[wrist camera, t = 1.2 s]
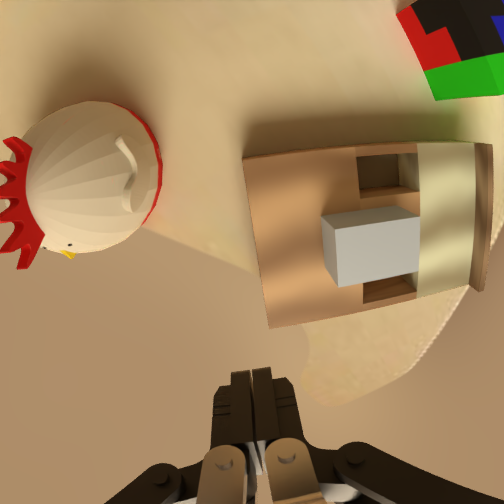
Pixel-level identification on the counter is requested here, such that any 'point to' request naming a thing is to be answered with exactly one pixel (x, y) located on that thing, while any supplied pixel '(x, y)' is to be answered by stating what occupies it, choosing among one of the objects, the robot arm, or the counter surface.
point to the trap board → (354, 199)
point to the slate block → (370, 244)
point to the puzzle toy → (458, 45)
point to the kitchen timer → (79, 180)
